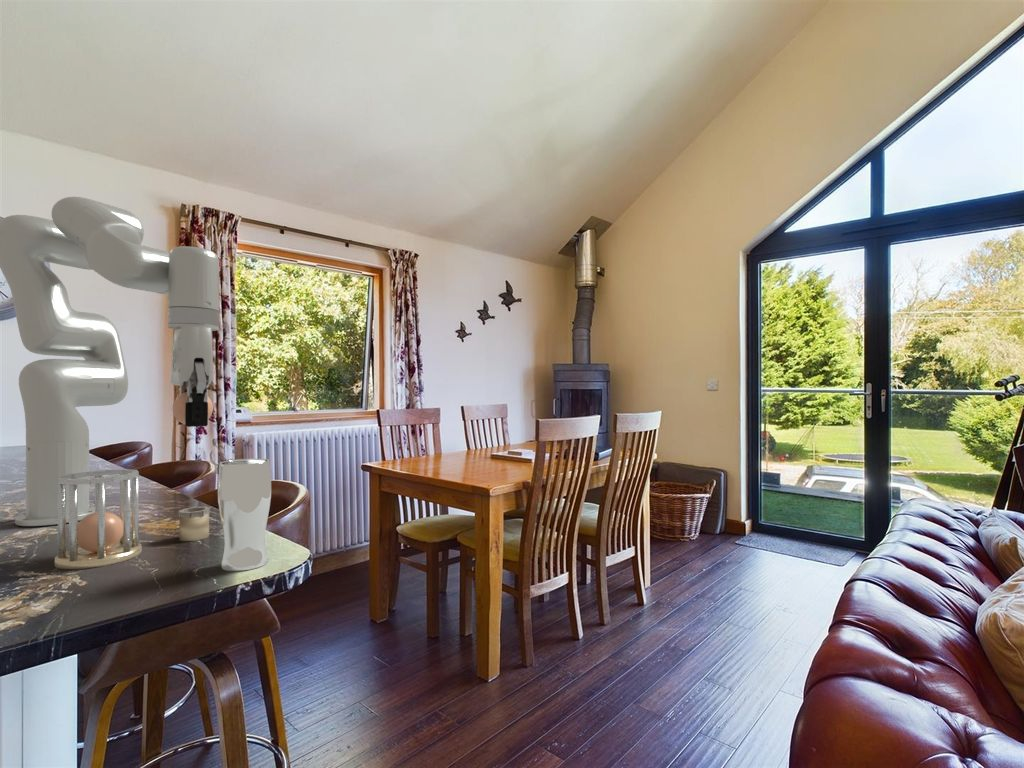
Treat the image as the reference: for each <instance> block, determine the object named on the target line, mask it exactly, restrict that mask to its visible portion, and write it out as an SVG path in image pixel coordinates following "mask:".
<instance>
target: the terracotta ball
mask: <svg viewBox="0 0 1024 768" xmlns="http://www.w3.org/2000/svg"><path fill="white" fill-rule="evenodd" d="M207 402H208V420H209V419H210V418H211V416H212V415H213V411H214V406H213V402H212V400H211V399H210V397H209V396H208V395H207ZM185 403H188V398H187V392H185V393H183V394H181V395H180V394H179V395H178V396H177V397H176V398H175V399H174V402H173V403H172V408H171V409H172V415H173V416H174V418H175V419H176V420H177V421H178V423H179V422H181V423H183V424H182V425H185Z"/></svg>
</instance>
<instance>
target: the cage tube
mask: <svg viewBox="0 0 1024 768" xmlns="http://www.w3.org/2000/svg"><path fill="white" fill-rule="evenodd" d="M139 472H140V471H138V469H129V468H127V469H126V468H123V469H122V468H120V469H102V470H101V469H100V470H99V469H98V470H89V471H87V472H80V473H73V474H67V475H63V476H59V482H58V524H57V555H56V556H55V557H54V567H55V568H56V569H59V570H60V569H61V570H85V569H94V568H99V567H106V566H110V565H116V564H120V563H122V562H125V561H129V560H132V559H134V558H136V557H138V556H139V555H141V554H142V544H141V543H140V542H139V541H140V539H139V538H140V537H139V536H140V535H139V533H140V532H139V531H140V530H139V525H140V522H139V519H140V515H139V514H140V513H139V510H140V509H139V508H140V507H139V506H140V505H139V503H140V502H139V500H140V499H139V497H140V495H139V494H140V491H139V487H140V485H139V484H140V479H139V476H140V473H139ZM107 475H113V476H107ZM88 476H89V478H88V479H77V478H81V477H88ZM103 476H104V477H103ZM90 477H94V478H90ZM113 482H119V517H120V518H121V519H122V521H123V536H122V538H121V539H120V541H119V542H118V543H117V544H116V545H115V546H113V547H112V548H110V549H108V550H105V511H106V483H113ZM66 484H68V485H69V523H68V547H69V548H68V550H67V523H66ZM78 484H89V485H94V507H95V512H97V552H90V551H86V550H84V549H82V548H81V547H79V546H78V523H79V521H78Z"/></svg>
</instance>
